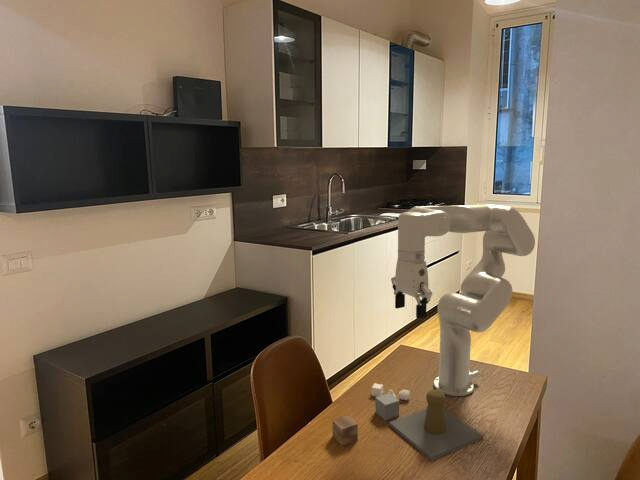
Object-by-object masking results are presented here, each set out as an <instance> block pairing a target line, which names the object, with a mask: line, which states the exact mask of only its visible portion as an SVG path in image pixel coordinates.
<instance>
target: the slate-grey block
mask: <svg viewBox="0 0 640 480" xmlns="http://www.w3.org/2000/svg"><path fill="white" fill-rule="evenodd" d="M374 397H375V399H374V400H375V402H374V403H375V405H374V407H375V409H374V411H375V413H376V414H377V415H378V416H379V417H380V418H381V419H383V420H384V421H388V420H390V419H393V418H397V417H399V416H400V400H399V399H398V398H397V397H396V396H395V397H394V396H393V395H391V394H390V393H383V394H382V395H381V396H378V397H377V396H374Z"/></svg>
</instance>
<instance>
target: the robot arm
mask: <svg viewBox="0 0 640 480" xmlns="http://www.w3.org/2000/svg"><path fill="white" fill-rule="evenodd" d="M448 232H449V233H453V234H454V233H456V234H470V233H477V232H484V233H483V235H482V254H481V255H482V256H481V259H480V260H479V262H478V263H477V264H476V265H475V266H474V268H473V269H471V271H470V272H469V273H468V274H467V276H465V278H464V279H463V280H462V282H461V285H460V292H461V294H460V293H456V292H447V293H445V294H443V295H442V296H441V297H440V299H439V300H438V302H437V317H438V320H439V321H438V322H439V332H440V333H439V358H438V359H439V362H438V376H437V377H436V378H435V379H434V380H433V386H434V388H435V390H440V391H442V392H443V393H444V394H445V396H450V397H451V396H452V397H464V396H468V395H471V394H472V393H473V392H474V389H475V388H474V387H475V385H474V383H473V382H472V380H473V379H474V378H478V377H480V372H479V371H478V370H474V371H472V372H471V369H470V364H471V363H470V362H471V360H470V359H471V345H472V343H471V342H472V338H471V337H472V336H471V332H474V333H484V332H486V331H487V330H488V329H490V327H491V326H492V325H493V324H494V323H495V321H496V320H497V319H498V318H499V317H500V315H501V314H502V312H504V310H505V309H506V308H507V307H508V305H509V304H510V302H511V300H512V297H513V286H512V284H511V282H510V281H509V280H507V279H505V278H504V274H505V273H506V264H505V261H504V257H503V254H508V255H512V256H518V257H526V256H529V255H530V254H531V253H532V252H533V251H534V249H535V245H536V240H535V235H534V233H533V231H532V230H531V228H530V227H529V225H528V223H527V222H526V220H525V218H524V217H523V215H522V214H521V213H520V212H519V211H518V210H517V209H516V208H514V207H512V206H507V205H500V204H499V205H498V204H497V205H496V204H489V203H488V204H486V203H485V204H469V205H426V206H424V205H422V206H414V207H412V208H410V209H409V210H407V211H404V212H401V213H400V214H399V215H398V220H397V261H396V265H395V275H394V276H393V277H391V279H390V281H391V284H392V290H393V294H394V299H395V300H394V307H395V309H402V308H405V306H406V295H408V296H410V297H411V298H412V297H413V298H414V299H415V301H416V302H417V303H416V305H415V307H416V308H415V318H416V319H417V320H418V319H423V318H426V317H427V305H428V304H429V302H430V301H431V299H432V296H433V292H432V291H431V289H430V288H429V272H428V266H427V262H426V261H425V260H426V259H425V258H426V257H425V252H426V249H425V247H426V237H441V236H444V235H446V234H447V233H448ZM470 331H471V332H470Z"/></svg>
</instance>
